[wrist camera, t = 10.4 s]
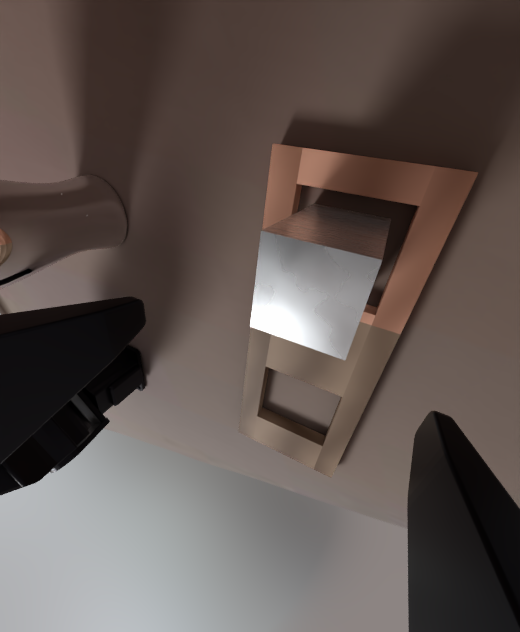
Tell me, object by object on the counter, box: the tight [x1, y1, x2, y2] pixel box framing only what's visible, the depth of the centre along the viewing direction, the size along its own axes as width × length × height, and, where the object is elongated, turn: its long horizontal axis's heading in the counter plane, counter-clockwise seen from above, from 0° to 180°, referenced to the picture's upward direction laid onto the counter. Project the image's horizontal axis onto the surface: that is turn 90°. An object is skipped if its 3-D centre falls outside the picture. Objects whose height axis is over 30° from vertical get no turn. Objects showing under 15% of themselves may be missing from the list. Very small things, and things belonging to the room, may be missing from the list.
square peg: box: [250, 204, 391, 360], centre depth 14 cm, size 4×4×8 cm
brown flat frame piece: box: [238, 144, 478, 477], centre depth 21 cm, size 10×26×1 cm, turn 173°
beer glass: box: [0, 175, 127, 289], centre depth 19 cm, size 7×7×15 cm
